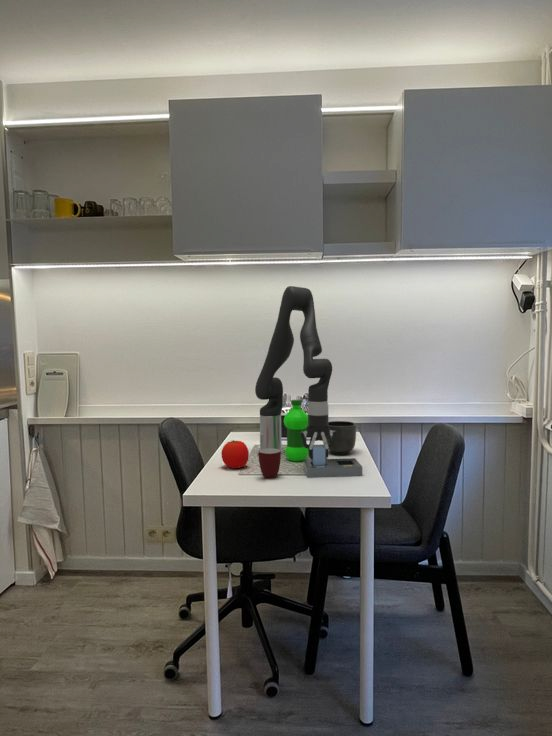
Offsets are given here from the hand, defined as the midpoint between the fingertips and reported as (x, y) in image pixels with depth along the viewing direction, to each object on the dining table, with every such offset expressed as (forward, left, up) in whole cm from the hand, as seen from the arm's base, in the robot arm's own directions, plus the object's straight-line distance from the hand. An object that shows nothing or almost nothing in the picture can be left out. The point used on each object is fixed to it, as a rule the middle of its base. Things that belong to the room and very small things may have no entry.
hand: (318, 458), depth 184 cm
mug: (-18, -2, -6) cm, 19 cm away
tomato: (-31, +13, -6) cm, 34 cm away
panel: (+5, 0, -6) cm, 8 cm away
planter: (+14, +31, -6) cm, 35 cm away
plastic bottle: (-6, +20, -6) cm, 22 cm away
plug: (0, 0, -5) cm, 5 cm away
